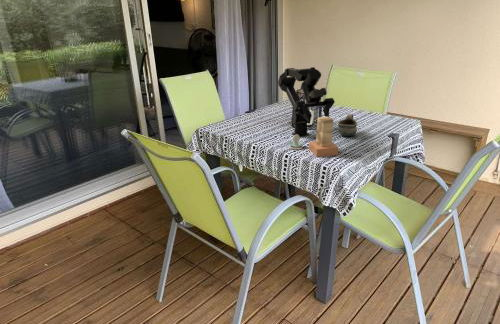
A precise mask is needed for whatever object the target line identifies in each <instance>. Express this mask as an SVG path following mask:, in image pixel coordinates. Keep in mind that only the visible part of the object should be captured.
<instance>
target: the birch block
mask: <svg viewBox="0 0 500 324" xmlns="http://www.w3.org/2000/svg"><path fill="white" fill-rule="evenodd" d="M333 127H334V118H332V117H330V116H329V117H325V116H319V117H317V123H316V137H315V138H316V139H315V141H316V143H317V144H318V145H320V146H329V145H331V142H333V141H332V140H333V131H334V130H333V129H334V128H333Z"/></svg>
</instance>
